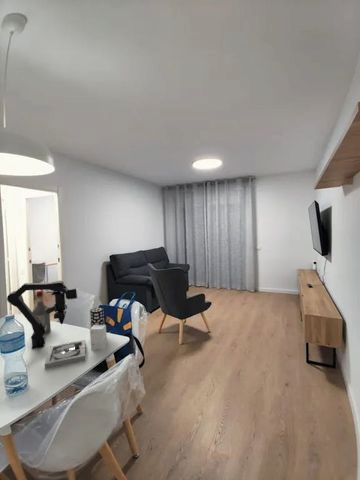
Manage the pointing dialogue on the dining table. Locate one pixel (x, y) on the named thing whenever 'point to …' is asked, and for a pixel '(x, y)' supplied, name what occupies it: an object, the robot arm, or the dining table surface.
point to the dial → (66, 351)
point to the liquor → (42, 311)
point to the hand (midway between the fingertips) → (61, 323)
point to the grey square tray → (53, 362)
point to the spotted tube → (97, 316)
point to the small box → (98, 337)
